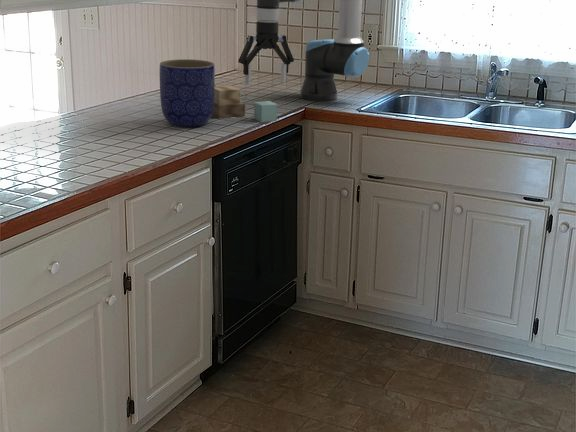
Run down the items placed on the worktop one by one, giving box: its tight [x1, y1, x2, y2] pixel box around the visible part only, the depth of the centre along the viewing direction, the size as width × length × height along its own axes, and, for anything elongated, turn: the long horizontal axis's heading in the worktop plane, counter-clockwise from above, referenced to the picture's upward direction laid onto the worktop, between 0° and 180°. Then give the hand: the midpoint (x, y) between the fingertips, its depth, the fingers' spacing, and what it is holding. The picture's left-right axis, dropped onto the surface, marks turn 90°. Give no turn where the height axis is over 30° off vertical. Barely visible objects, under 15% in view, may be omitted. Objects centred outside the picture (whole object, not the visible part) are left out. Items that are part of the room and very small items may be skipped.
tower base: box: [212, 101, 246, 120], centre depth 293 cm, size 10×10×5 cm
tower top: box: [214, 85, 241, 105], centre depth 292 cm, size 8×8×5 cm
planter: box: [159, 59, 216, 128], centre depth 275 cm, size 18×18×21 cm
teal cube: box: [253, 100, 278, 123], centre depth 287 cm, size 6×6×6 cm
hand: (265, 83), depth 284 cm, fingers open, 13 cm apart
